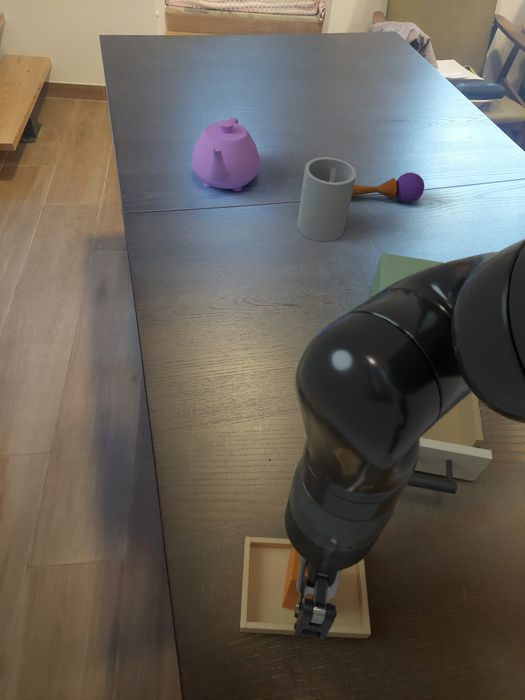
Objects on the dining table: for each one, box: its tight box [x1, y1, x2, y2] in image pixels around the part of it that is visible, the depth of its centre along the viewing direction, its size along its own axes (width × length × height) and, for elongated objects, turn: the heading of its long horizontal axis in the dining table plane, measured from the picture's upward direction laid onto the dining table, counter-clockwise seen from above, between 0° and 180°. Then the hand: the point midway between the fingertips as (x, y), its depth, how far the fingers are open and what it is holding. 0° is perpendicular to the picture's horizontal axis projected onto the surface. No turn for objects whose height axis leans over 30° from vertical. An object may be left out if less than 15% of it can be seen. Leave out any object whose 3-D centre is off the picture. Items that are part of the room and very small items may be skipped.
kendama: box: [351, 172, 425, 204], centre depth 105 cm, size 6×6×20 cm
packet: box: [282, 546, 313, 610], centre depth 52 cm, size 5×4×10 cm
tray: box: [239, 536, 372, 639], centre depth 55 cm, size 13×9×2 cm
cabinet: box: [370, 252, 444, 298], centre depth 79 cm, size 19×15×8 cm
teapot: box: [191, 117, 261, 192], centre depth 103 cm, size 20×14×12 cm
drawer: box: [406, 393, 493, 495], centre depth 67 cm, size 22×13×6 cm, turn 170°
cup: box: [296, 156, 357, 242], centre depth 95 cm, size 9×9×12 cm
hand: (310, 569), depth 51 cm, fingers open, 8 cm apart
